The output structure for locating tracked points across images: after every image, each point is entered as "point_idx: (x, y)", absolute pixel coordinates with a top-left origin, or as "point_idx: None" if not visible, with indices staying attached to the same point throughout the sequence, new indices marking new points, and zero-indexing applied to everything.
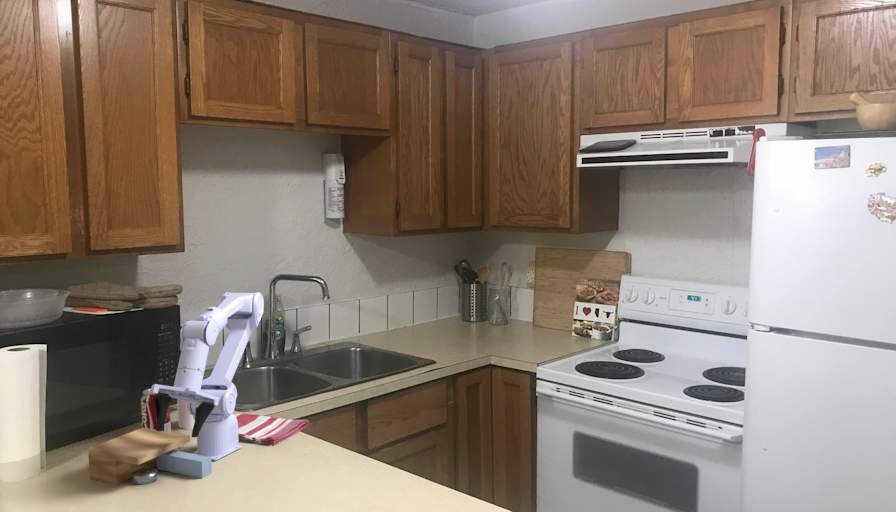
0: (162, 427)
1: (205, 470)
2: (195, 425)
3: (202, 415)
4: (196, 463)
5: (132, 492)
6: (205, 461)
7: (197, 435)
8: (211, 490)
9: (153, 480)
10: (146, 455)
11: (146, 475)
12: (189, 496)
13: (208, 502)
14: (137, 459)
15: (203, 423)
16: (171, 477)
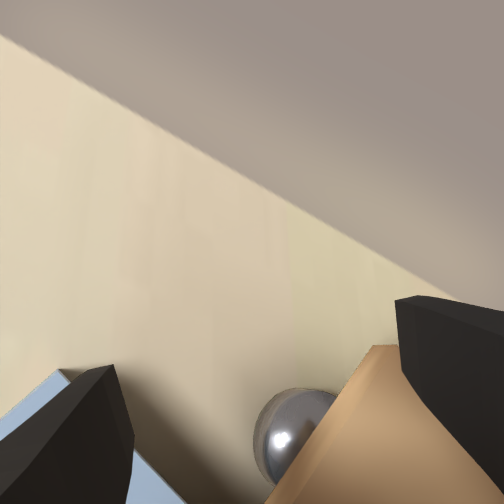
0: (412, 299)
1: (36, 388)
2: (102, 493)
3: (3, 479)
4: None
5: (328, 325)
6: (31, 394)
7: (90, 370)
8: (37, 202)
9: (270, 404)
10: (364, 389)
11: (307, 399)
12: (136, 188)
13: (68, 93)
14: (393, 347)
15: (8, 438)
16: (198, 435)
